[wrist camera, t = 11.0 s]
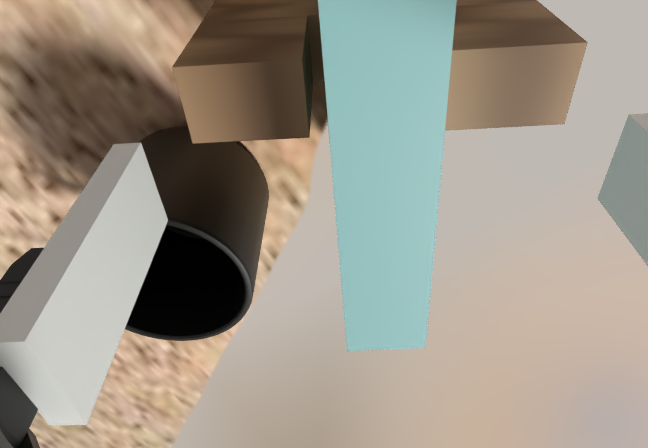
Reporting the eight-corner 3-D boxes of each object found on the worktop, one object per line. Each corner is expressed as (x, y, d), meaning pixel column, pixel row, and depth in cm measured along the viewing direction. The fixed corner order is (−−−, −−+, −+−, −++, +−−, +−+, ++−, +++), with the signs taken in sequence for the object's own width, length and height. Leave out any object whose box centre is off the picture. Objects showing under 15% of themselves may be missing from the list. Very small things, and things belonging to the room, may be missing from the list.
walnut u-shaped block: (233, 50, 26) (192, 143, 18) (222, -9, 24) (172, 67, 16) (493, 34, 25) (564, 124, 18) (503, -28, 24) (587, 42, 16)
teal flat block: (388, 146, 30) (425, 348, 18) (340, 149, 30) (347, 351, 18) (390, -192, 20) (476, -220, 8) (317, -184, 20) (300, -201, 8)
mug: (62, 159, 31) (-16, 256, 24) (231, 104, 28) (199, 194, 21) (143, 260, 36) (99, 362, 29) (290, 221, 34) (280, 323, 27)
